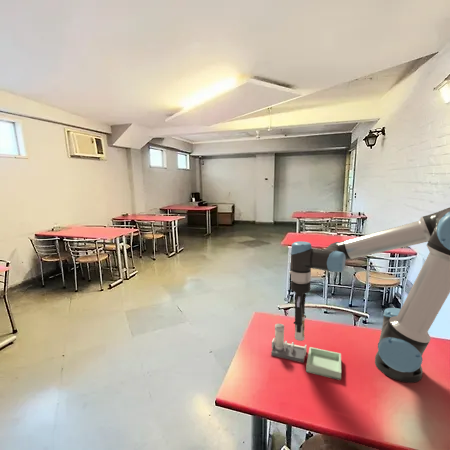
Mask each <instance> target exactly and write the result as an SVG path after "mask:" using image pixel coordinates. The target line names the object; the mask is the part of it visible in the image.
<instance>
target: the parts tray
mask: <svg viewBox="0 0 450 450" xmlns="http://www.w3.org/2000/svg"><path fill="white" fill-rule="evenodd" d="M305 369H306V370H305V372H306V373H309V374H313V375H317V376H321V377H325V378H329V379H334V380H337V381H342V353H341V352H336V351H331V350H327V349H322V348H321V349H320V348H317V347H312V346H309V348H308V353H307V360H306V366H305Z"/></svg>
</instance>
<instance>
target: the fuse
mask: <svg viewBox="0 0 450 450" xmlns="http://www.w3.org/2000/svg"><path fill="white" fill-rule="evenodd" d="M274 335H275V336H274V338H275V349H276V350H279V351H281V350H283V349H284V342H285V341H284V340H285V324H282V323H275V324H274Z"/></svg>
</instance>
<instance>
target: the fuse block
mask: <svg viewBox="0 0 450 450" xmlns="http://www.w3.org/2000/svg"><path fill="white" fill-rule="evenodd" d="M307 346H308V345H307V344H304V346H302V345H299V344H294V341H292V342H291V343H288V341H287V340H285V341H284V349H283V350H281V351H279V350H276V349H275V337H273V338H272V341H271V352H270V353H271V356H273V357H277V358H281V359H286V360H290V361H293V362H294V361H295V362H299V363H303V364H304V363H305V359H306V356H307Z"/></svg>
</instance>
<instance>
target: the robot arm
mask: <svg viewBox="0 0 450 450" xmlns="http://www.w3.org/2000/svg"><path fill="white" fill-rule="evenodd" d="M424 243H427V244H426V247H427V249H428V251H429V253H428V255H427V257H426V259H425V260H424V262H423V265H422V266H421V268H420V271H419V273H418V275H417V277H416V278H415V281H414V283H413V284H412V287H411V288H410V290H409V292H408V294H407V296H406V298H405V300H404V302H403V305H401V308H397V307H387V308H385V309H384V311H383V314H382V316H383V320H382V327H381V331H380V335H379V340H378V343H377V352H376V354H375V356H374V364H375V367H376V368H377V369H378V370H379V371H380V372H381V373H382V374H384V375H385V376H387V377H389V378H391V379H393V380H395V381H397V382H398V381H399V382H403V383H418V382H420V381H421V380H422V378H423V367H422V363H423V354H424V352H425V351H426V349H427V347H428V345H429V343H430V342H431V335H430V334H429V330H430V328H431V326H433V323H434V322H435V319H436V318H437V316H438V314H439V312H440V311H441V309H442V307H443V305H444V304H445V302H446V300H447V298H448V296H449V295H450V207H448V208H444V209H442V210H439V211H436V212H433V213H430V214H428V215H424V216H421V217H420V219H419V220H418V221H413V222H410V223H406V224H402V225H398V226H394V227H391V228H387V229H384V230H380V231H376V232H372V233H368V234H365V235H361V236H358V237H353V238H350V239H347V240H343V241H335V242H333V243H330V244H328V246H327V247H326V248H324V249H319V248H313V246H312V243H311V242H309V241H294V242H292V243H291V249H290V251H291V252H290V271H289V275H290V290H291V291H292V292H294V293H295V295H294V321H293V324H294V329H295V330H294V339H295V338H296V339H301V340H302V339H303V323H302V316H303V314H304V315H305V319H306V318H307V316H306V313H305V310H306V309H305V308H306V305H305V304H306V297H307V294H308V293H309V292H311V280H312V279H311V277H312V269H314V270H320V271H326V272H331V273H342V272H344V270H345V268H346V262H347V261H349V260H353V259H356V258H361V257H367V256H370V255H375V254H379V253H383V252H387V251H393V250H397V249H402V248H406V247H410V246H411V247H412V246H414V245H421V244H424ZM295 325H296V327H295ZM296 339H295V340H296Z"/></svg>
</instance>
